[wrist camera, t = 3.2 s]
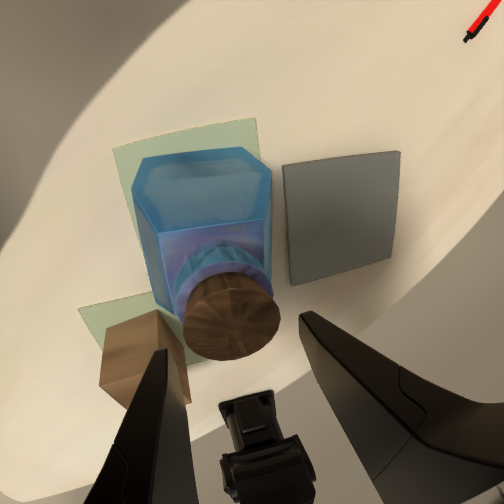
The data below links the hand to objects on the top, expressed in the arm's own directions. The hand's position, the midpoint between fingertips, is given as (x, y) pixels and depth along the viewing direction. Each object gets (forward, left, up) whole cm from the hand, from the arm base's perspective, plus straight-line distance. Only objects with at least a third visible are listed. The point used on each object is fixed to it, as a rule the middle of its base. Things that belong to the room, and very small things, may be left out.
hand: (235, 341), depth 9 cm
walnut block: (-11, +7, -13) cm, 18 cm away
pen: (+18, -33, -13) cm, 40 cm away
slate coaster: (-4, -11, -13) cm, 17 cm away
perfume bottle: (0, 0, -13) cm, 13 cm away
